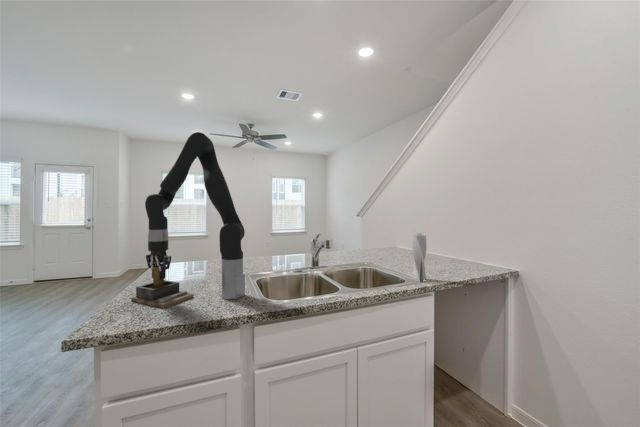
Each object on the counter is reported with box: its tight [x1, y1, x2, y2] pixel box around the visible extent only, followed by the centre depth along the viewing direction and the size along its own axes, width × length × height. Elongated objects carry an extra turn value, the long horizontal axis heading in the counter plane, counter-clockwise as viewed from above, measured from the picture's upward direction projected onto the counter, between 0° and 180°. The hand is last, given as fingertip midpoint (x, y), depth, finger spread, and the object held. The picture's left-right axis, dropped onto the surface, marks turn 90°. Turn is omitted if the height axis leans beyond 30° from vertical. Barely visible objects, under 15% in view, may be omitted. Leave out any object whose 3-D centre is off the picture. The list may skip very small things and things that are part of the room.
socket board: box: [130, 279, 194, 309], centre depth 110 cm, size 20×14×6 cm
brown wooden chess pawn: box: [150, 252, 167, 289], centre depth 111 cm, size 7×6×18 cm
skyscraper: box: [411, 230, 427, 283], centre depth 143 cm, size 8×8×28 cm
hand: (158, 278), depth 111 cm, fingers open, 4 cm apart
